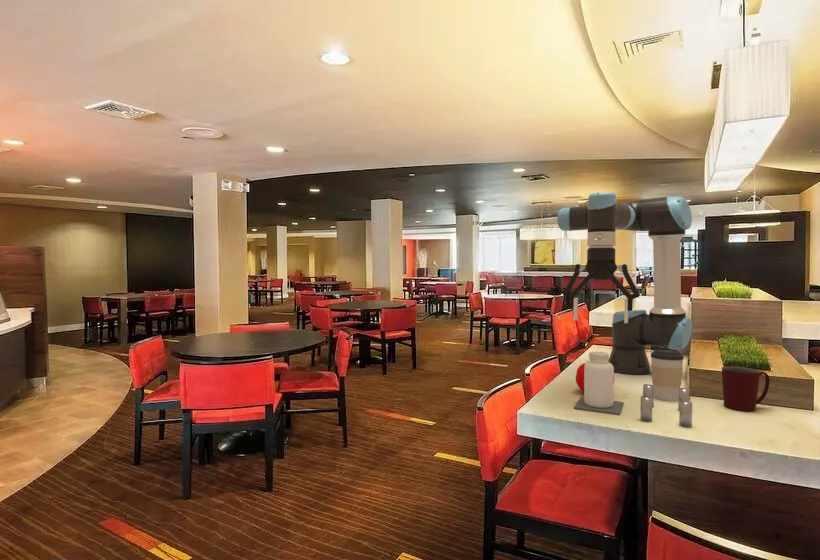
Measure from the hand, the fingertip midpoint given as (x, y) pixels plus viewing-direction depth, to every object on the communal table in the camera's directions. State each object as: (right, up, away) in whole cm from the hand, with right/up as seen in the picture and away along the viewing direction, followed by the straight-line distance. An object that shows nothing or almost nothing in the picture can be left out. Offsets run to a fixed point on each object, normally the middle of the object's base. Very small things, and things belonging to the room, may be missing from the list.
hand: (600, 321), depth 138 cm
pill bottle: (0, -24, +1) cm, 24 cm away
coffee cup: (+24, -25, +10) cm, 36 cm away
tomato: (+4, -24, +15) cm, 29 cm away
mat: (0, -25, +1) cm, 25 cm away
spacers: (+15, -25, -7) cm, 30 cm away
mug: (+41, -25, -1) cm, 48 cm away
